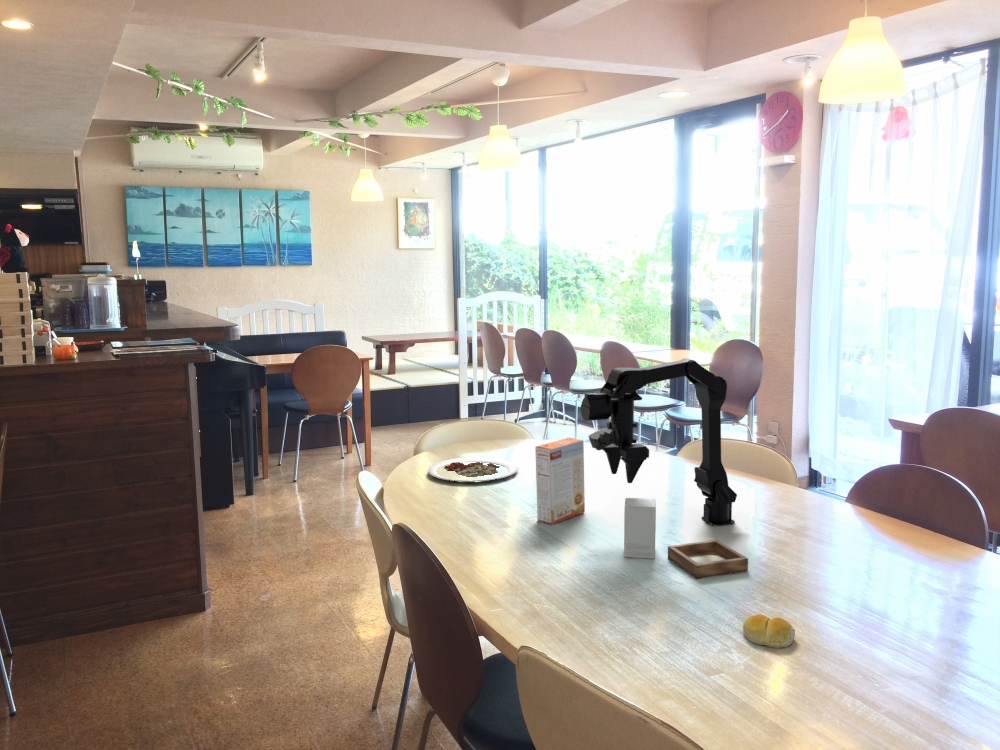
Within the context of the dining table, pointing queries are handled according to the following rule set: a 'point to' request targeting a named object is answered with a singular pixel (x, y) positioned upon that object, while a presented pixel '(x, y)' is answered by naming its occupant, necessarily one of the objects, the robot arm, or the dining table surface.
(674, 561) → the tray
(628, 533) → the supplement box
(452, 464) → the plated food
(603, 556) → the dining table surface
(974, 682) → the dining table surface
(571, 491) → the cracker box
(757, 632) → the bread roll
